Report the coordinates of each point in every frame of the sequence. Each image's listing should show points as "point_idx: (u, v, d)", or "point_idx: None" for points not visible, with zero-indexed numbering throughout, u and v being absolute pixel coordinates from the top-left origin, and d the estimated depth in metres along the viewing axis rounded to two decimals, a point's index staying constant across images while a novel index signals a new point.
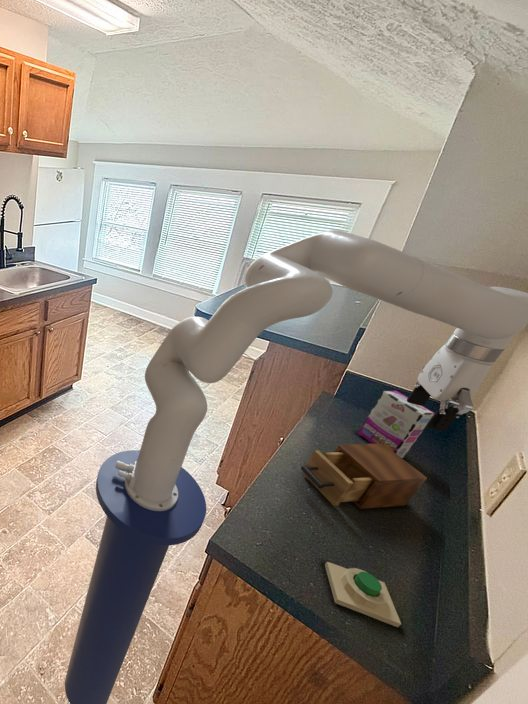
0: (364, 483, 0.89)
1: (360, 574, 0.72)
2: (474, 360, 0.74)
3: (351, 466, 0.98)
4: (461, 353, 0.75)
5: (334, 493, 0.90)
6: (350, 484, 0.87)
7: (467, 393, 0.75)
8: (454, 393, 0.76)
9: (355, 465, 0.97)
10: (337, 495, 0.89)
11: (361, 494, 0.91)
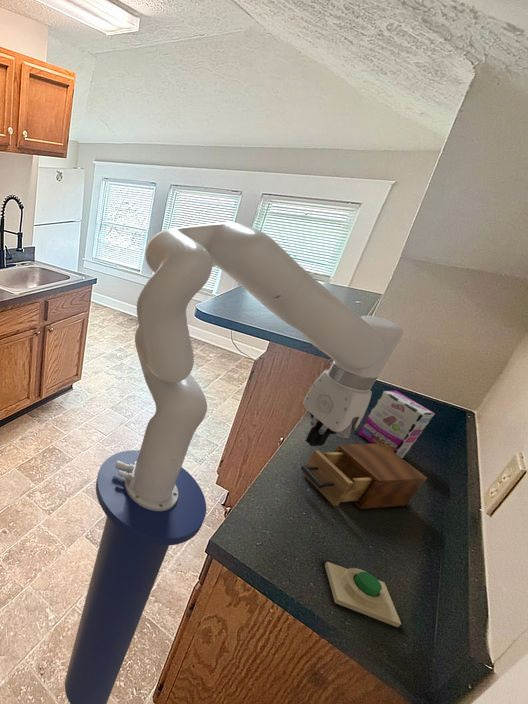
0: (364, 483, 0.89)
1: (360, 574, 0.72)
2: (360, 390, 0.74)
3: (351, 466, 0.98)
4: (349, 385, 0.75)
5: (334, 493, 0.90)
6: (350, 484, 0.87)
7: (351, 424, 0.77)
8: (348, 423, 0.77)
9: (355, 465, 0.97)
10: (337, 495, 0.89)
11: (361, 494, 0.91)
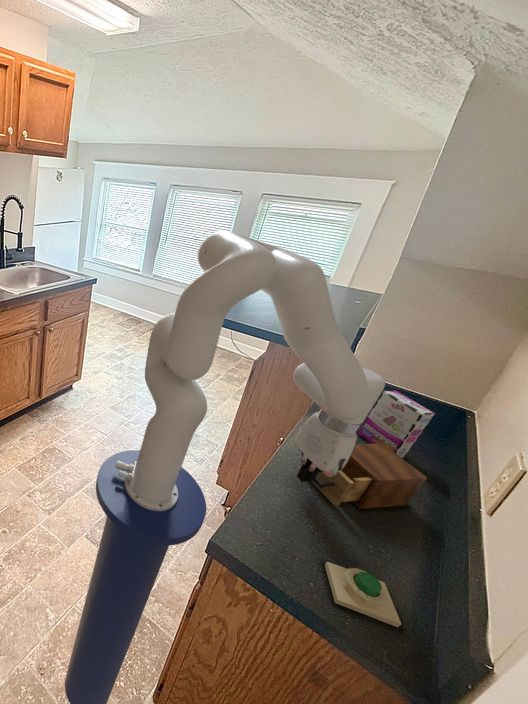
0: (365, 483, 0.89)
1: (360, 574, 0.72)
2: (346, 435, 0.81)
3: (352, 466, 0.98)
4: (336, 430, 0.81)
5: (335, 493, 0.90)
6: (351, 484, 0.87)
7: (338, 464, 0.83)
8: (335, 464, 0.83)
9: (356, 465, 0.97)
10: (338, 495, 0.89)
11: (362, 494, 0.91)
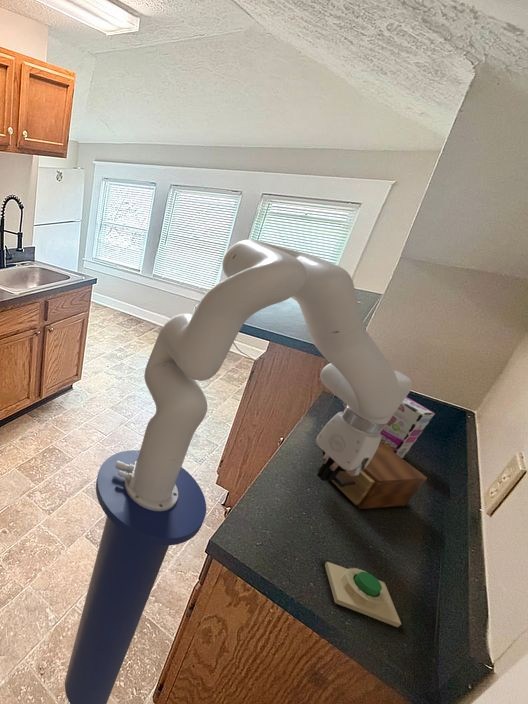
0: None
1: (360, 574, 0.72)
2: (371, 434, 0.82)
3: None
4: (361, 429, 0.82)
5: (355, 492, 0.91)
6: (372, 483, 0.88)
7: (361, 464, 0.85)
8: (359, 463, 0.84)
9: None
10: (358, 494, 0.90)
11: None
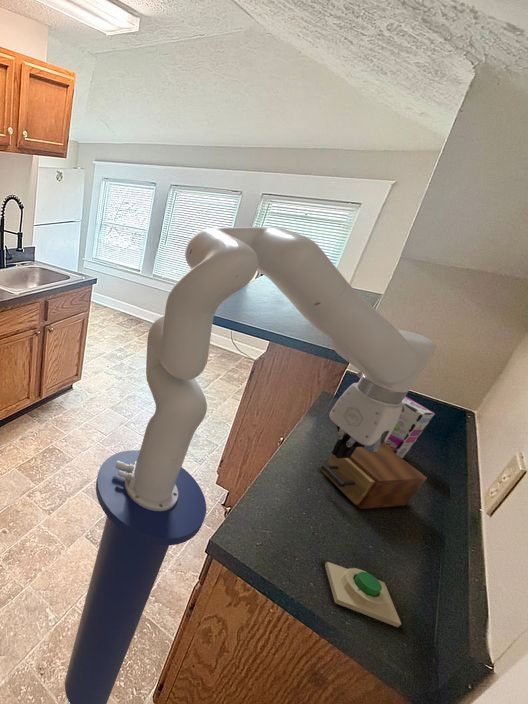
0: None
1: (360, 574, 0.72)
2: (391, 405, 0.75)
3: None
4: (380, 400, 0.75)
5: (355, 492, 0.91)
6: (372, 483, 0.88)
7: (380, 438, 0.78)
8: (378, 437, 0.77)
9: None
10: (358, 494, 0.90)
11: None
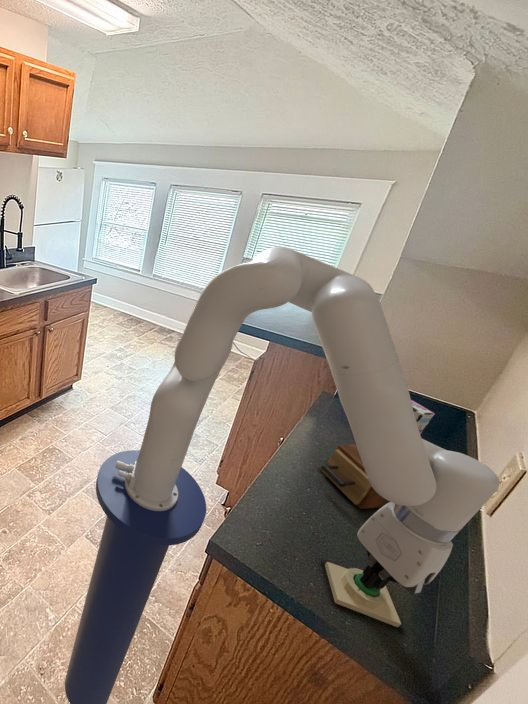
0: None
1: (359, 576, 0.72)
2: (439, 544, 0.60)
3: None
4: (425, 536, 0.60)
5: (355, 492, 0.91)
6: None
7: (423, 578, 0.63)
8: (422, 579, 0.62)
9: None
10: (358, 494, 0.90)
11: None
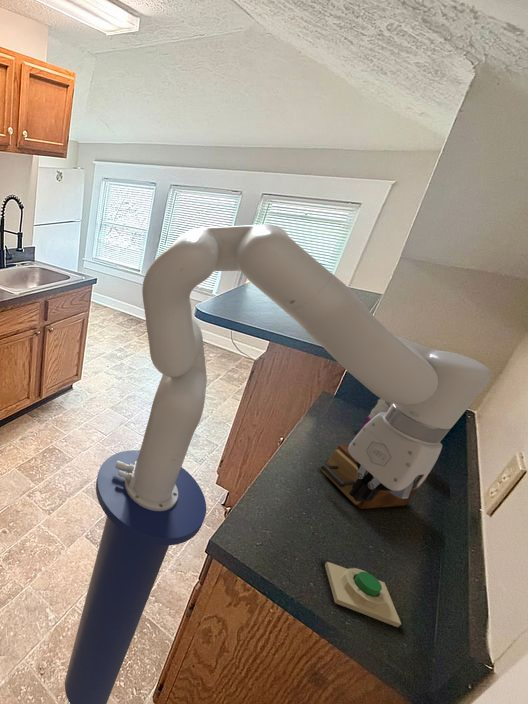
0: None
1: (360, 574, 0.72)
2: (429, 443, 0.60)
3: None
4: (415, 436, 0.60)
5: None
6: None
7: (412, 482, 0.63)
8: (410, 482, 0.62)
9: None
10: None
11: None
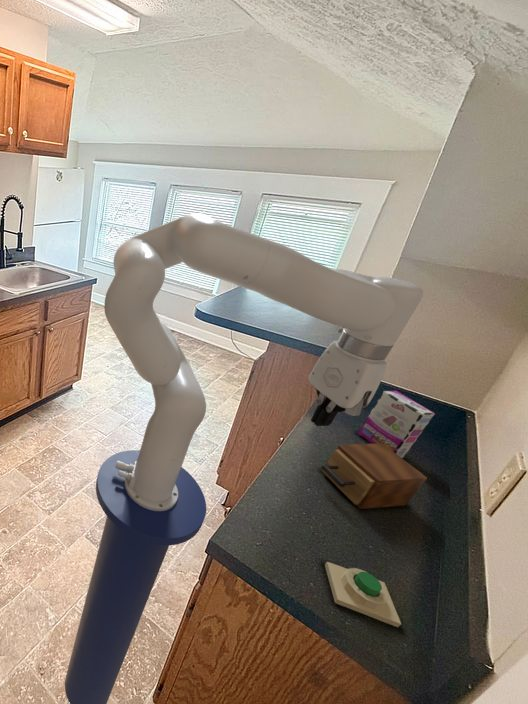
0: None
1: (360, 574, 0.72)
2: (374, 361, 0.67)
3: None
4: (361, 355, 0.67)
5: (355, 492, 0.91)
6: (372, 483, 0.88)
7: (362, 399, 0.70)
8: (360, 398, 0.69)
9: None
10: (358, 494, 0.90)
11: None
